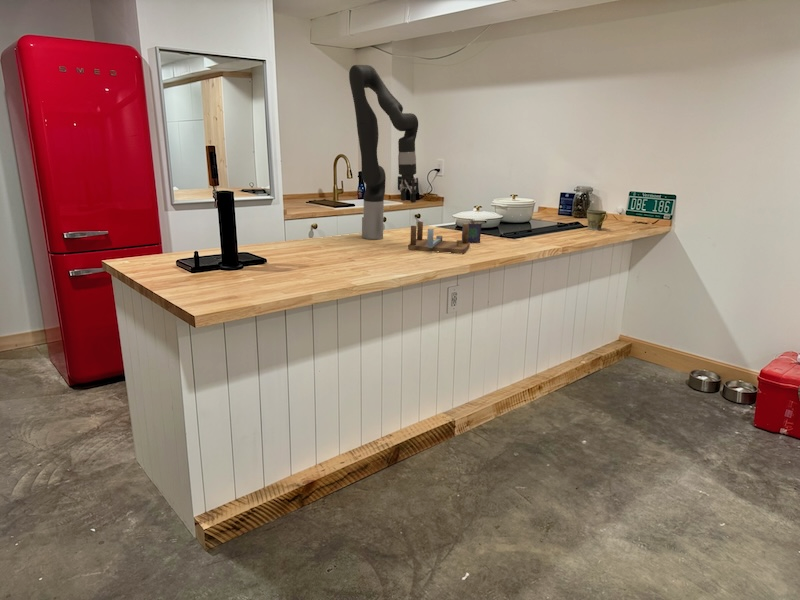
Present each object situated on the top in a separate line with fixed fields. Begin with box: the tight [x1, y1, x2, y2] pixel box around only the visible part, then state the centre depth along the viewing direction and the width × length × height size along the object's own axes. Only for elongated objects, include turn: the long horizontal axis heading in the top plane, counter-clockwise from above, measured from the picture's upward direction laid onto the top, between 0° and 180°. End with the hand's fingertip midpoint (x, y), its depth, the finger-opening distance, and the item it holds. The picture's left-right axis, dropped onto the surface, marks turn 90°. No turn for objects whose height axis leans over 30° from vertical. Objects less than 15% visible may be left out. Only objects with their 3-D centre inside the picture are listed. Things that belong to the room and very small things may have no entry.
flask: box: [461, 218, 482, 244], centre depth 256 cm, size 9×3×11 cm, turn 109°
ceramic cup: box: [586, 209, 608, 231], centre depth 300 cm, size 13×10×10 cm
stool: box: [407, 220, 471, 255], centre depth 241 cm, size 24×16×10 cm, turn 75°
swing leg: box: [426, 228, 443, 248], centre depth 238 cm, size 18×3×8 cm, turn 162°
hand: (408, 201), depth 242 cm, fingers open, 8 cm apart
